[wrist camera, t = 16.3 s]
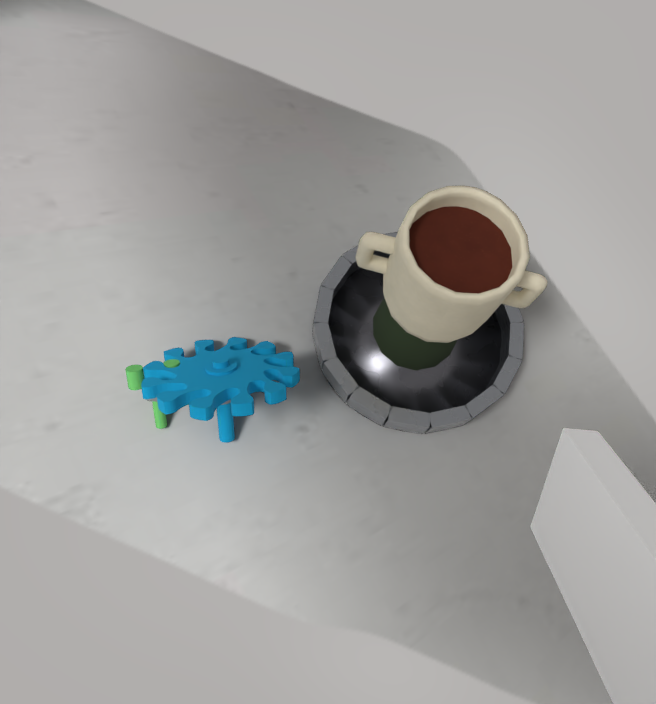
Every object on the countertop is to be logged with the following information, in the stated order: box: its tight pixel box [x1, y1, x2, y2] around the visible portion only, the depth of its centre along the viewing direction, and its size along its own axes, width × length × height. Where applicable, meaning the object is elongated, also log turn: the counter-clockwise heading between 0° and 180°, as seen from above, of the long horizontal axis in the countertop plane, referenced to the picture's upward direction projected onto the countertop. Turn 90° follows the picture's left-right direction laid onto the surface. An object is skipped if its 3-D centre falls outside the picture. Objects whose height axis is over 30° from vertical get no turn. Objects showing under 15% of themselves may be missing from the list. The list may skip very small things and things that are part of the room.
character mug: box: [356, 186, 547, 370], centre depth 36 cm, size 11×7×13 cm, turn 76°
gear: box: [126, 337, 300, 442], centre depth 37 cm, size 11×6×10 cm
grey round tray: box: [312, 232, 524, 434], centre depth 41 cm, size 15×15×2 cm
